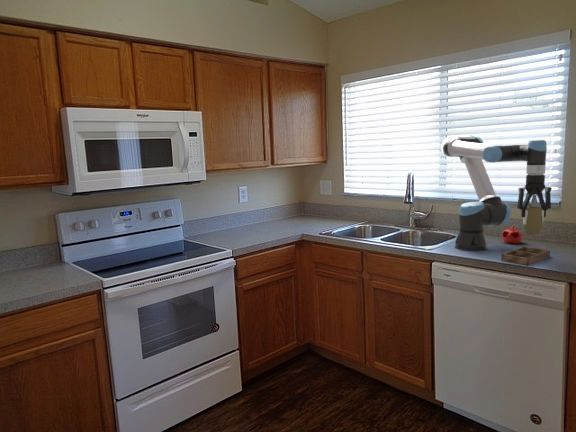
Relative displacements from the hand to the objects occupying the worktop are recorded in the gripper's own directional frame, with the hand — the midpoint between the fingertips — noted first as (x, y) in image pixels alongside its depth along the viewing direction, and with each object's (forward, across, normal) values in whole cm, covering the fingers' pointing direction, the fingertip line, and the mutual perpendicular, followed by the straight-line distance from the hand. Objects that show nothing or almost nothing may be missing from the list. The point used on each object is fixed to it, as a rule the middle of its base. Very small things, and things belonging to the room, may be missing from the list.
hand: (533, 223), depth 205 cm
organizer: (+16, -4, -4) cm, 16 cm away
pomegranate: (+16, +2, +31) cm, 35 cm away
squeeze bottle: (+5, 0, 0) cm, 5 cm away
